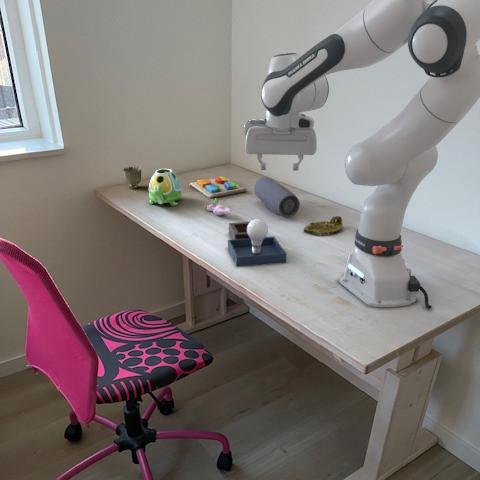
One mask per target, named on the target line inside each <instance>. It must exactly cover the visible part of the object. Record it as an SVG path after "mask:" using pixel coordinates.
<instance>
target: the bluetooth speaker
mask: <svg viewBox="0 0 480 480" xmlns="http://www.w3.org/2000/svg"><path fill="white" fill-rule="evenodd" d="M253 192H254V194H255V196H256V197H257V198H258V199H259V200H260V201H261V202H262V203H263V204H264V206H266V207H267V209H269V211H271V212H272V213H274V214H275V215H277V216H281V217H284V218H291V217H293V216H295V215H296V214H297V213H298V211H299V209H300V206H301V205H300V200H299V198H298V197H297V196H296V194H295V193H293V192H292V191H291V190H289V189H288V188H287V187H285V186H284V185H282V184H281V183H280V182H278V181H276V180H274V179H272V178H271V177H268V176H263V177H260V178H259V179H257V180H256V182H255V184H254V186H253Z"/></svg>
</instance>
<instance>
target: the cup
mask: <svg viewBox="0 0 480 480" xmlns="http://www.w3.org/2000/svg"><path fill="white" fill-rule="evenodd" d="M122 171H123V177H124V181H125V183H126V184H128V187H129V189H131V190H135V189H138V188H139V184H140V183H141V181H142V168H141V167H139V166H137V167H136V166H127V167H123V169H122Z"/></svg>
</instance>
